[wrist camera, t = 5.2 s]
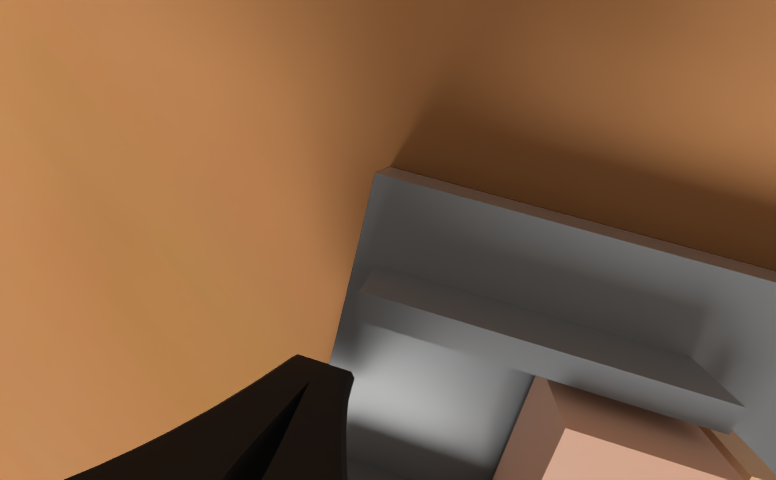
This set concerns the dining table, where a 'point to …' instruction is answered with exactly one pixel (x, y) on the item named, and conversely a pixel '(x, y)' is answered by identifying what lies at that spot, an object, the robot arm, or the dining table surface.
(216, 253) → the dining table surface
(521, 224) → the battery checker
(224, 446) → the robot arm
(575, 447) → the slider
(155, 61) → the dining table surface
